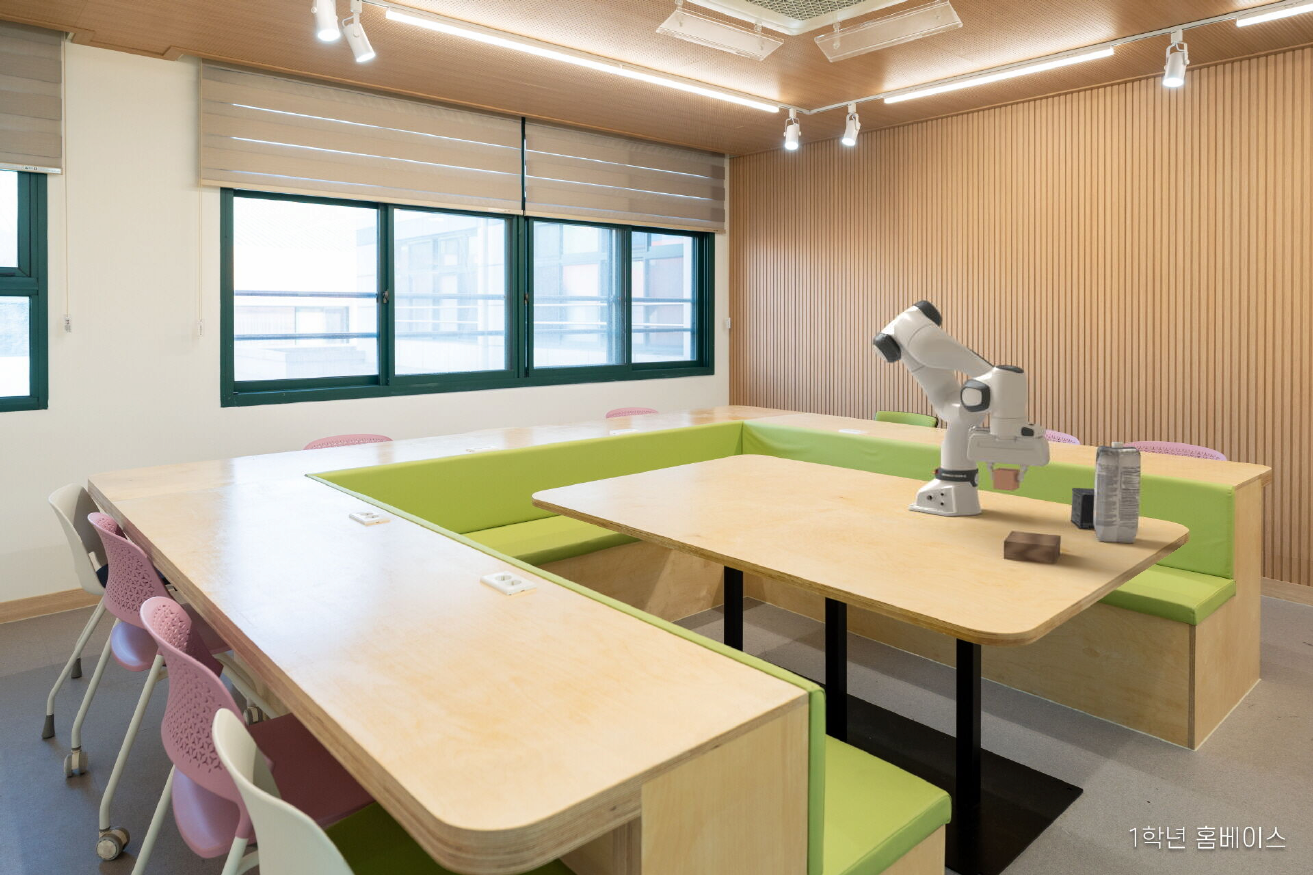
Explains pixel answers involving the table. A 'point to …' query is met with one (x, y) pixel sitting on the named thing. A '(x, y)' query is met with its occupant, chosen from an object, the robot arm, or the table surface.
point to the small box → (1083, 508)
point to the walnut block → (1032, 547)
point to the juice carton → (1117, 493)
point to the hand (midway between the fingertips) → (1006, 480)
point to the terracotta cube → (1006, 479)
